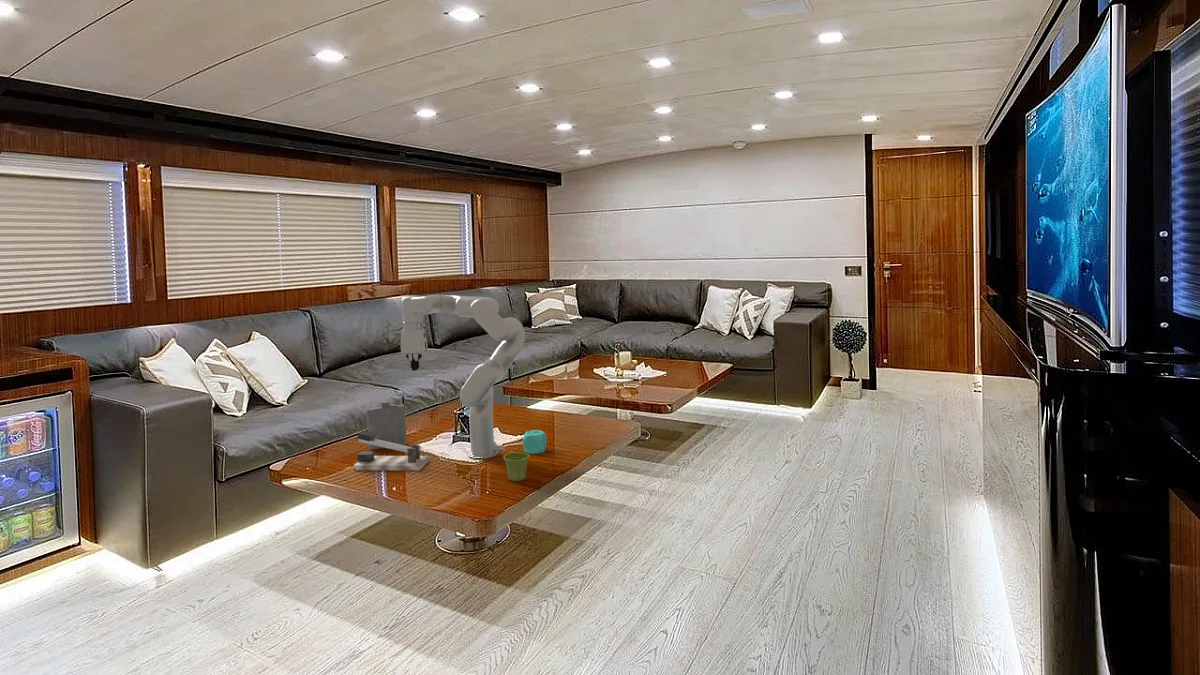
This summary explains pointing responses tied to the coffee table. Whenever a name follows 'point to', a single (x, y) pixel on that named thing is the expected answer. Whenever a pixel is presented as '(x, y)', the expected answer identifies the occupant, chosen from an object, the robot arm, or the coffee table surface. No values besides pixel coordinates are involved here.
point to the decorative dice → (534, 442)
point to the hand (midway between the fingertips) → (415, 369)
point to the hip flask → (387, 423)
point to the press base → (392, 461)
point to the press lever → (380, 441)
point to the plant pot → (516, 465)
